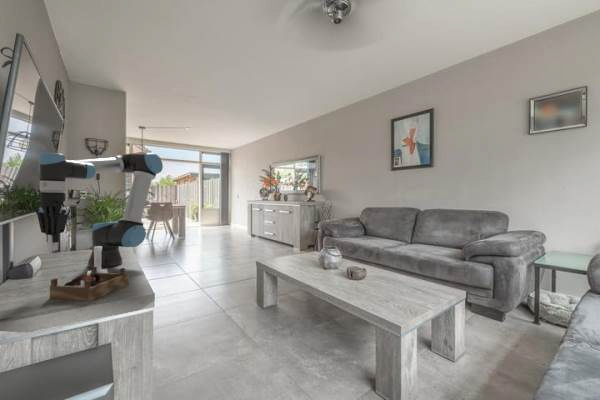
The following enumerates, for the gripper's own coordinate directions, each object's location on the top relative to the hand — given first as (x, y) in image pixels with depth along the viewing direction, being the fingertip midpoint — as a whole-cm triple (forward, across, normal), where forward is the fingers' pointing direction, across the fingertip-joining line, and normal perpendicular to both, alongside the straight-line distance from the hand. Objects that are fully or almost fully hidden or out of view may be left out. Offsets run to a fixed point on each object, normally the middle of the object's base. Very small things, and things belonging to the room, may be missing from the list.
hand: (52, 250), depth 104 cm
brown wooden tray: (+15, +17, -1) cm, 23 cm away
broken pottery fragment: (+16, +15, -2) cm, 22 cm away
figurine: (+16, +8, +12) cm, 22 cm away
